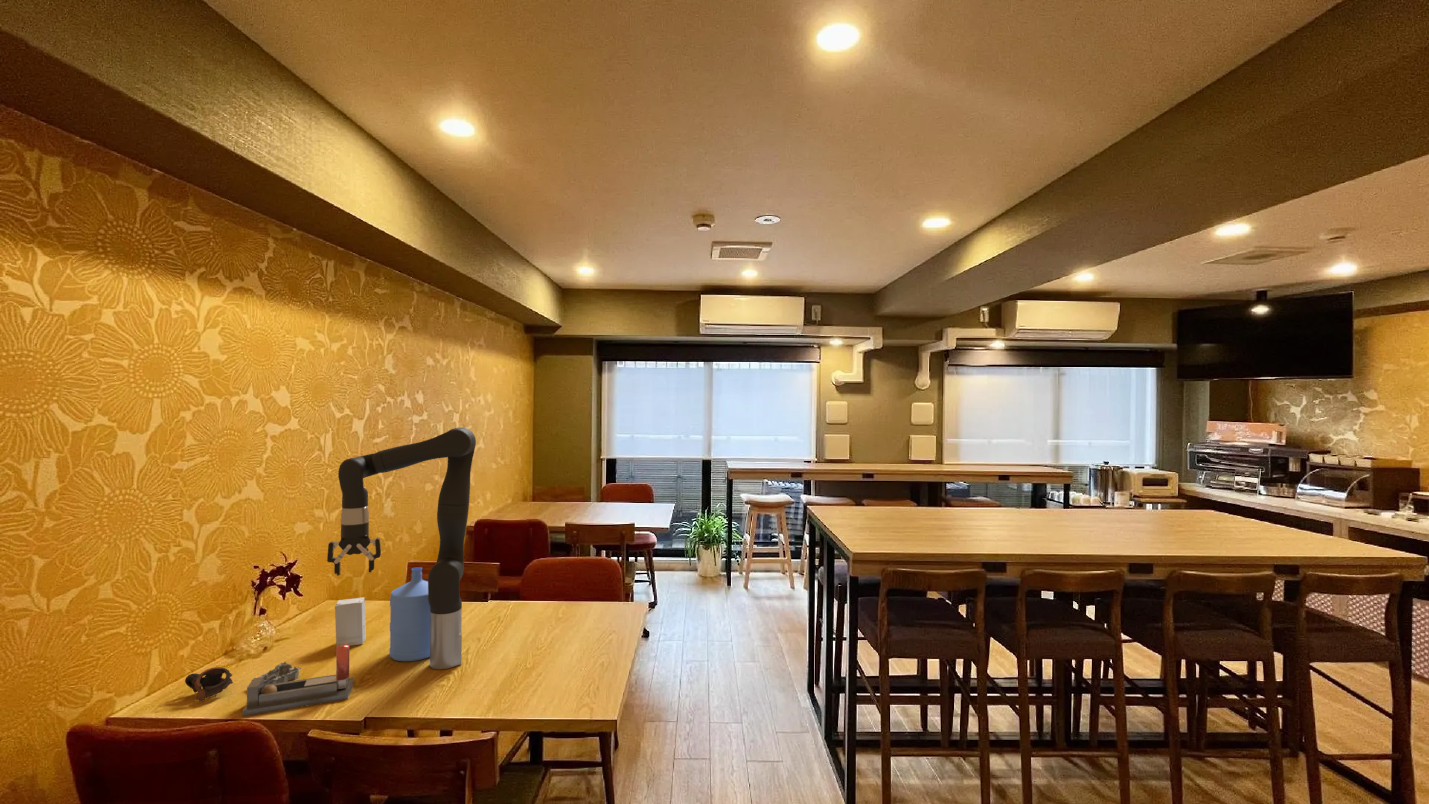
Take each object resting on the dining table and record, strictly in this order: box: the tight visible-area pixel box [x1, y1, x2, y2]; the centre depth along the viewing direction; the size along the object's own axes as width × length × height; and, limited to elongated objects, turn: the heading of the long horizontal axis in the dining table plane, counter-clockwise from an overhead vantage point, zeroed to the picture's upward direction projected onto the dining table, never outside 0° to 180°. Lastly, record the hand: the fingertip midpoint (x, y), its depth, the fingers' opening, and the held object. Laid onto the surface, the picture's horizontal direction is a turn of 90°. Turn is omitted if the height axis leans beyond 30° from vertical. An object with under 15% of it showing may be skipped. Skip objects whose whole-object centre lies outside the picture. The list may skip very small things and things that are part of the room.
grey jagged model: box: [259, 661, 302, 687], centre depth 179 cm, size 11×8×4 cm
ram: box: [304, 644, 351, 689], centre depth 172 cm, size 11×4×11 cm, turn 114°
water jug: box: [389, 566, 430, 663], centre depth 201 cm, size 16×16×28 cm
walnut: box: [261, 685, 277, 694], centre depth 166 cm, size 4×4×4 cm
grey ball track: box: [242, 674, 355, 717], centre depth 169 cm, size 24×11×6 cm, turn 114°
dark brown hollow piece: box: [184, 666, 234, 703], centre depth 171 cm, size 12×10×8 cm
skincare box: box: [334, 597, 367, 647], centre depth 208 cm, size 8×6×15 cm
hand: (354, 573), depth 188 cm, fingers open, 8 cm apart
